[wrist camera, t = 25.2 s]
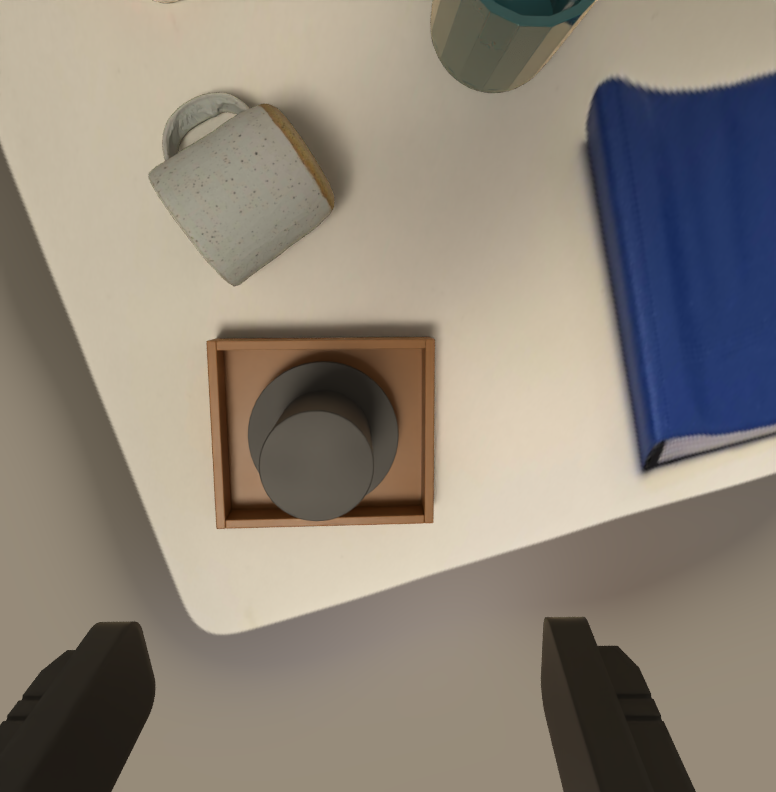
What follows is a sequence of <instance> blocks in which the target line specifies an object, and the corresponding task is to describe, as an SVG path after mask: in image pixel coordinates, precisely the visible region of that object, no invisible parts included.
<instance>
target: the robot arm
mask: <svg viewBox="0 0 776 792" xmlns="http://www.w3.org/2000/svg"><path fill="white" fill-rule="evenodd" d="M541 690H542V699H543V706H544V712H545V717H546V721H547V725H548V728H549V733H550V737H551V741H552V745H553V749H554V754H555V758H556V762H557V766H558V770H559V774H560V778H561V783H562V787H563V791H564V792H696V791H695V789H694V787H693V785H692V782H691V780H690V778H689V776H688V774H687V772H686V770H685V767H684V765H683V763H682V761H681V758H680V756H679V754H678V752H677V750H676V748H675V745H674V743H673V741H672V739H671V737H670V734H669V732H668V730H667V728H666V726H665V723H664V721H662V720H661V715H660V713H659V710H658V708H657V706H656V704H655V701H654V699H652V698H651V693H650V691H649V688H648V686H647V684H646V682H645V680H644V677H643V675H642V673H641V671H640V669H639V667H638V666H637V665H636V664H635V663H634V662H633V661H632V660H631V659H630V658H629V657H628V656H627V655H626V654H625V653H624V652H623V651H622V650H621V649H620V648H619V647H618V646H597V644H596V641H595V639H594V636H593V634H592V631H591V629H590V626H589V623H588V621H587V619H586V618H585V617H545V619H544V625H543V646H542V667H541ZM154 697H155V678H154V674H153V670H152V666H151V662H150V659H149V654H148V651H147V647H146V642H145V639H144V635H143V631H142V628H141V626H140V624H139V623H138V622H99V623H96V624H95V625H94V626H93V627H92V628H91V629H90V630H89V632H88V633H87V635H86V636H85V637H84V639H83V640H82V642H81V643H80V644H79V646H78V647H77V649H76V650H67V651H66V652H64V653H63V654H62V655H61V656H59V657H58V658H57V659H56V660H54V661H53V662H52V663H51V664H49V665H48V666H47V667H46V668H45V669H43V670H42V671H41V672H40V674H39V675H38V676H37V677H36V679H35V680H34V681H33V683H32V684H31V685H30V686H29V688H28V689H27V691H26V692H25V693H24V694H23V698H22V700H21V701H18V702H17V704H16V705H15V706H14V708H13V709H12V710H11V712H10V713H9V714H8V716H7V720H6V721H3V722H2V723H1V725H0V792H111V791H112V789H113V787H114V785H115V783H116V781H117V779H118V777H119V775H120V773H121V771H122V769H123V767H124V765H125V763H126V761H127V759H128V757H129V755H130V753H131V751H132V749H133V747H134V745H135V743H136V741H137V739H138V737H139V735H140V733H141V731H142V729H143V727H144V724H145V723H146V721H147V719H148V717H149V714H150V712H151V709H152V706H153V702H154Z"/></svg>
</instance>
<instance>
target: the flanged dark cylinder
mask: <svg viewBox="0 0 776 792" xmlns="http://www.w3.org/2000/svg"><path fill="white" fill-rule="evenodd" d="M398 436H399V435H398V424H397V419H396V415H395V412H394V409H393V406H392V404H391V402H390V400H389V398H388V397H387V395H386V394H385V392H384V391H383V389H382V388H381V387H380V386H379V385H378V384H377V383H376V382H375V381H374V380H373V379H372V378H370V377H369V376H368V375H366V374H365V373H363V372H362V371H360V370H358V369H356V368H354V367H352V366H349V365H346V364H343V363H337V362H331V361H316V362H309V363H304V364H301V365H298V366H295V367H293V368H291V369H289V370H287V371H285V372H283V373H282V374H280V375H279V376H277V377H276V378H275V379H274V380H273V381H272V382H271V383H269V384H268V385H267V387H266V388H265V389H264V390H263V391H262V393H261V394H260V396H259V397H258V399H257V401H256V403H255V405H254V407H253V409H252V412H251V416H250V419H249V425H248V444H249V450H250V454H251V458H252V460H253V463H254V465H255V467H256V469H257V471H258V472H259V475H260V479H261V483H262V485H263V488H264V490H265V491H266V493H267V495H268V496H269V498H270V499H271V500H272V502H273V503H274V504H275V505H276V506H277V507H279V508H280V509H281V510H282V511H284V512H286V513H287V514H289V515H291V516H293V517H296V518H299V519H302V520H307V521H326V520H331V519H335V518H337V517H340V516H342V515H344V514H346V513H348V512H349V511H351V510H352V509H353V508H355V507H356V506H357V505H358V504H359V503H360V502H361V501H362V499H363V498H364V497H365V496H366V495H367V494H369V493H370V492H371V491H373V490H374V489H375V488H376V487H377V486H378V485H379V484H380V483H381V482H382V480H383V479H384V478H385V476H386V475H387V473H388V472H389V470H390V468H391V466H392V464H393V461H394V459H395V456H396V452H397V447H398Z"/></svg>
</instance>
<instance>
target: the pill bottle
mask: <svg viewBox="0 0 776 792" xmlns="http://www.w3.org/2000/svg"><path fill="white" fill-rule="evenodd" d="M153 1H156V2H161V3H172V2H176V1H179V0H153Z"/></svg>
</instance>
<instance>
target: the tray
mask: <svg viewBox="0 0 776 792" xmlns="http://www.w3.org/2000/svg"><path fill="white" fill-rule="evenodd" d="M207 359H208V378H209V397H210V416H211V435H212V454H213V472H214V491H215V510H216V528H217V529H225V528H262V527H301V526H339V525H377V524H415V523H433V503H434V373H435V339H433V338H430V337H352V338H227V339H213V340H209V341H207ZM316 361H331V362H337V363H343V364H346V365H349V366H352V367H354V368H356V369H358V370H360V371H362V372H363V373H365V374H366V375H368V376H369V377H370V378H372V379H373V380H374V381H375V382H376V383H377V384H378V385H379V386H380V387H381V388H382V389H383V391H384V392H385V394H386V395H387V397H388V398H389V400H390V402H391V404H392V406H393V409H394V412H395V415H396V419H397V424H398V435H399V436H398V447H397V452H396V456H395V459H394V461H393V464H392V466H391V468H390V470H389V472H388V473H387V475H386V476H385V478H384V479H383V480H382V482H381V483H380V484H379V485H378V486H377V487H376V488H375V489H374V490H373V491H371V492H370V493H369V494H367V495H366V496H365V497H364V498H363V499H362V501H361V502H360V503H359V504H358V505H357V506H356V507H355V508H353V509H352V510H351V511H349V512H348V513H346V514H344V515H342V516H340V517H337V518H335V519H331V520H326V521H307V520H302V519H299V518H296V517H293V516H291V515H289V514H287V513H286V512H284V511H282V510H281V509H280V508H279V507H277V506H276V505H275V504H274V503H273V502H272V500H271V499H270V498H269V496H268V495H267V493H266V491H265V490H264V488H263V485H262V483H261V479H260V475H259V472H258V471H257V469H256V467H255V465H254V463H253V460H252V458H251V454H250V450H249V444H248V425H249V419H250V416H251V412H252V409H253V407H254V405H255V403H256V401H257V399H258V397H259V396H260V394H261V393H262V391H263V390H264V389H265V388H266V387H267V385H268V384H269V383H271V382H272V381H273V380H274V379H275V378H276V377H277V376H279V375H280V374H282V373H283V372H285V371H287V370H289V369H291V368H293V367H295V366H298V365H301V364H304V363H309V362H316Z"/></svg>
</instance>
